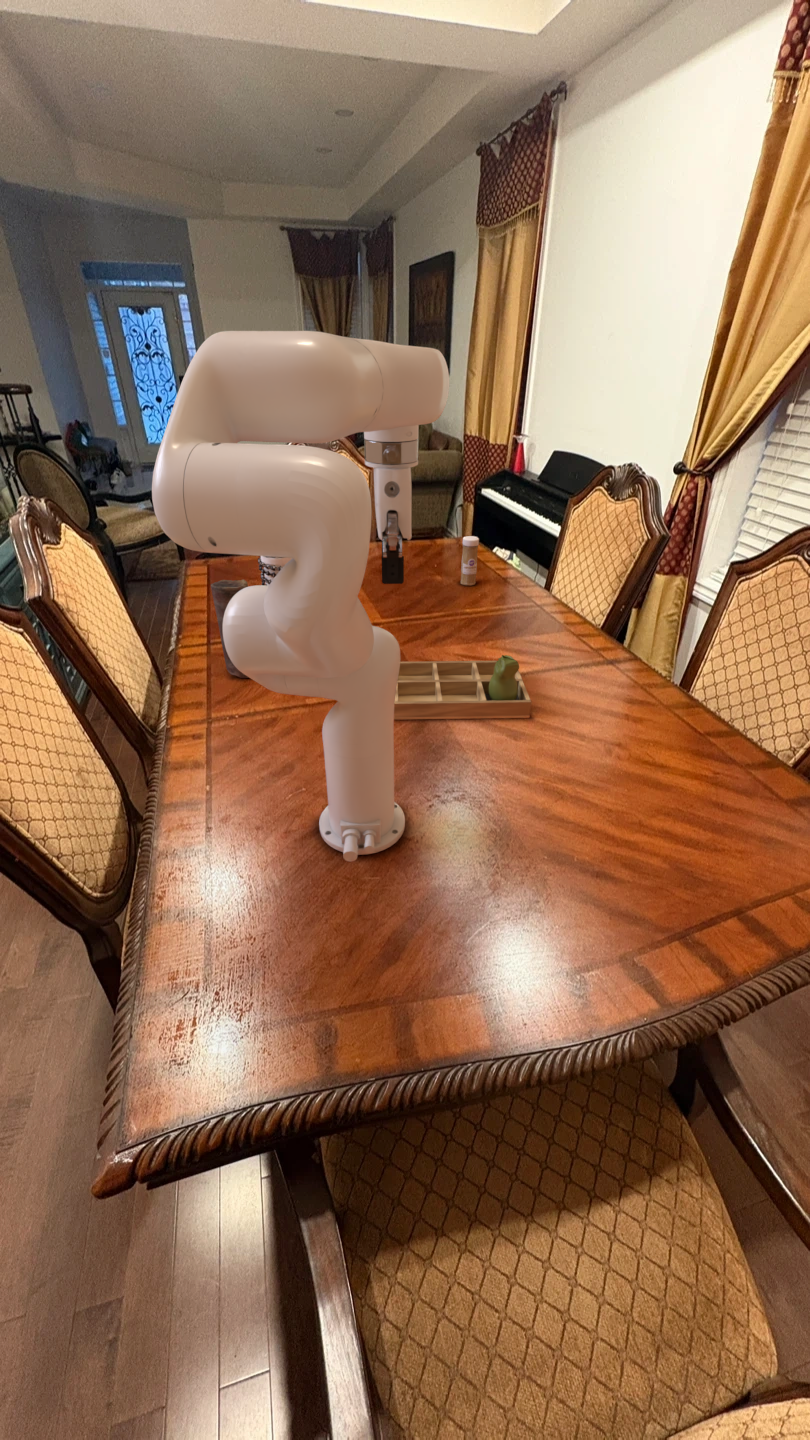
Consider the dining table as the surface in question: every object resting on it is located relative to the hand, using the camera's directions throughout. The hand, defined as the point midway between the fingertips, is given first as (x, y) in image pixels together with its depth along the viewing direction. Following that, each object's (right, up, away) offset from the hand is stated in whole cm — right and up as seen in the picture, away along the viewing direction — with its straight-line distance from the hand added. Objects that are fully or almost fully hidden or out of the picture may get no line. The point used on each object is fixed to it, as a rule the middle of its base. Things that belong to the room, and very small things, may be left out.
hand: (392, 572), depth 94 cm
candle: (-33, -12, +37) cm, 51 cm away
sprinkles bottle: (+21, +17, +84) cm, 89 cm away
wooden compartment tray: (+13, -18, +28) cm, 36 cm away
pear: (+21, -20, +24) cm, 38 cm away
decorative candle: (-26, -3, +52) cm, 58 cm away
